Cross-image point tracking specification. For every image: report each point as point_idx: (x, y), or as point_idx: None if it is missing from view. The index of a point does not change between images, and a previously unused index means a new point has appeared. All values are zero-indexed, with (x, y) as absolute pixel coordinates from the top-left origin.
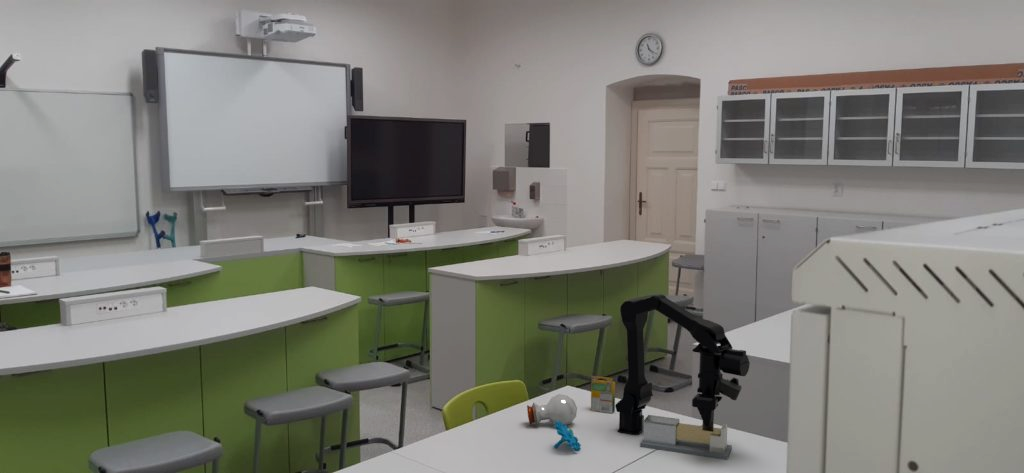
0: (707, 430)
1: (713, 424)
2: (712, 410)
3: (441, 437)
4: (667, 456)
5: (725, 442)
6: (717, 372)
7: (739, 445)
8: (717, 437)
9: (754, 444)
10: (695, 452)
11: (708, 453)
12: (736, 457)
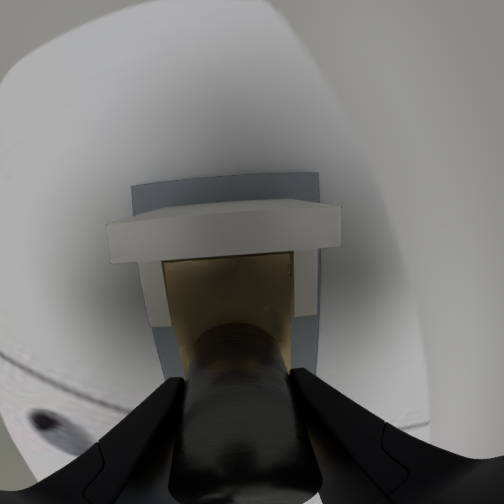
0: (282, 355)
1: (238, 349)
2: (429, 474)
3: None
4: (361, 394)
5: (223, 204)
6: None
7: (75, 167)
8: (315, 256)
9: (44, 116)
10: (316, 331)
11: (320, 273)
12: (255, 135)
